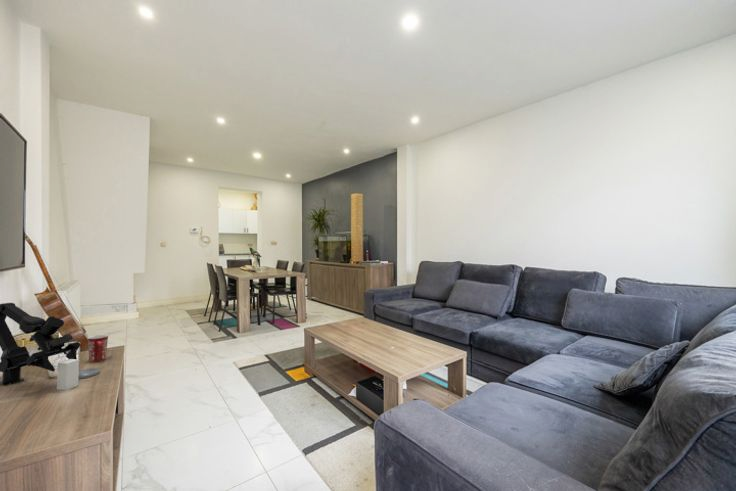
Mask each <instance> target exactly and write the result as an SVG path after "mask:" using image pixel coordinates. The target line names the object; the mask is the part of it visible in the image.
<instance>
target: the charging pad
mask: <svg viewBox="0 0 736 491" xmlns="http://www.w3.org/2000/svg"><path fill="white" fill-rule="evenodd" d="M99 374H100V369H99V368H97V367H93V368H85V369H79V376H78V380H81V379H88V378H92V377H95V376H96V375H99Z"/></svg>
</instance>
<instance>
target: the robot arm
mask: <svg viewBox="0 0 736 491" xmlns="http://www.w3.org/2000/svg"><path fill="white" fill-rule="evenodd" d="M7 318H9V319H11V320H12V321H14V322H15V323H17V324H18V325H19V327H18V328H19V330H20V331H22V332H23V333H24V334H26V335H28V334H32V335H30V338H29V342H33V341H34V342H35V343H36V345H37V346H38V347H37V350H38V352H33V353H32V354H31V355H30V352H29V351H28V349H27V348H28V347H26V346H20V345H18V343H17V340H16V339H15V338H14V335H13V333H12V331H11V329H10V328H9V326H8V323H7V322H6V319H7ZM64 324H65V322H64V320H63V319H61V318H58V317H55V316H54V315H53V316H48V317H47V318H46V320H45V319H44V318H42V317H39V316H32V315H30V314H29V313H28V312H26V311H24V310H23V309H21V308H20V307H19V306H17V305H16V304H15V303H14V302H5V303H4V302H3V303H0V349H1V351H2V353H1V355H0V373H2V377H1V378H2V380H0V385H3V386H7V385H11V384H14V383H15V384H16V383H19V382H23V381H25V379H24V378H22V377H21V376H22V368H23V367H27V366H28V367H38V368H41V369H44V370H48V371H51V372H55V371H56V369H55V367H54V366H53V364H52V362H51V361H50V360H49V357H52V356H57V355H59V354H63V355H65V357H66V359H67V360H68V359H78V358H77V351H78V349H79V348H80V347H81V346H82V344H81V343H80V341H74V342H71V341H72V340H73V336H72V334H70V333H66V334H64V335H63V336H59V337H54V336H53V335H55V334H57V332H58V331H59V330H60V329H61V328H62V327H63V326H64ZM33 333H34V334H33ZM69 342H71V343H69ZM67 343H68V344H67ZM65 344H67V345H66V346H65Z"/></svg>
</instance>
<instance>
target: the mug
mask: <svg viewBox="0 0 736 491" xmlns="http://www.w3.org/2000/svg"><path fill="white" fill-rule="evenodd" d="M108 338H109V334H96V335H92V336H88V337H87V341H88V342H87V346H88V347H87V348H88V362H90V363H97V362H102V361H105V360H106V358H107V350H108V340H109V339H108Z"/></svg>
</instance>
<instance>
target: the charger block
mask: <svg viewBox="0 0 736 491" xmlns="http://www.w3.org/2000/svg"><path fill="white" fill-rule="evenodd" d="M79 370H80V359H78V358H77V359H68V358H67V359H66V360H62V361H59V362H57V374H56V375H57V376H56V378H57V379H56V390H60V391H67V390H70V389H73V388H75V387H78V386H79V379H78V376H79Z"/></svg>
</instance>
